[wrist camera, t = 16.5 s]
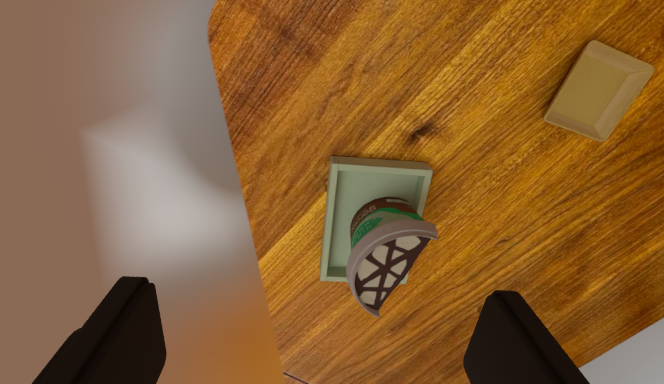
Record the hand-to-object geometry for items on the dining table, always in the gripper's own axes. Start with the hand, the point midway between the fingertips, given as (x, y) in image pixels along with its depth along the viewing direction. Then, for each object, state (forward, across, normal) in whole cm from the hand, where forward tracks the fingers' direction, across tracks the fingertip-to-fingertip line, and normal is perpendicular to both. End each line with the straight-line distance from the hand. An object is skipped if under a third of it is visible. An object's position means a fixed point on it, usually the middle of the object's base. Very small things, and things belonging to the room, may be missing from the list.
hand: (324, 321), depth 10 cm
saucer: (+31, -30, -4) cm, 43 cm away
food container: (+30, -8, +14) cm, 34 cm away
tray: (+30, -8, +14) cm, 34 cm away
